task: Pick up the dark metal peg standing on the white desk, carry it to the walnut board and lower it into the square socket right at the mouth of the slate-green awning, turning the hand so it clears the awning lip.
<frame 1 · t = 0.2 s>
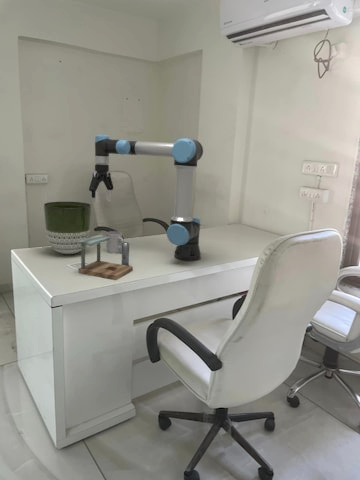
hand: (101, 202, 208), 28 cm above the table, fingers open, 13 cm apart
peg: (125, 265, 187), on the table
mug: (116, 252, 211), on the table
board: (106, 271, 176), on the table
planter: (68, 253, 204), on the table
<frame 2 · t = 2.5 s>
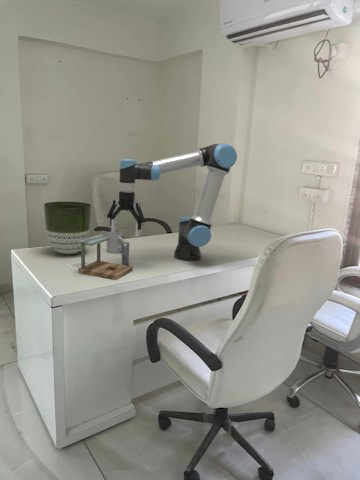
hand: (125, 234, 183), 17 cm above the table, fingers open, 13 cm apart
nothing on the table moved.
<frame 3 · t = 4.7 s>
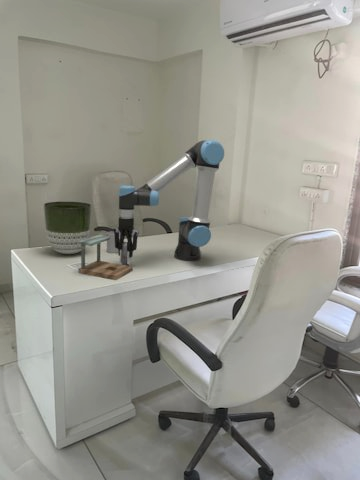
hand: (125, 262, 187), 2 cm above the table, fingers closed on peg, 3 cm apart
peg: (125, 265, 187), on the table, touching gripper
everything else where it was.
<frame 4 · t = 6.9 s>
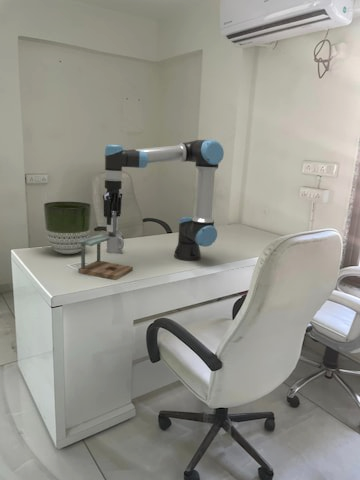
hand: (112, 230, 171), 20 cm above the table, fingers closed on peg, 3 cm apart
peg: (112, 236, 171), point 18 cm above the table, touching gripper
everything else where it was.
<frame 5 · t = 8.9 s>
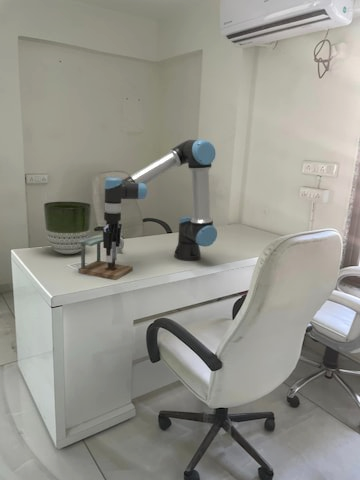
hand: (111, 260, 174), 6 cm above the table, fingers closed on peg, 3 cm apart
peg: (111, 266, 175), point 3 cm above the table, touching gripper
everything else where it was.
when the fingers open (3 cm above the table, at t = 9.7 s): peg stays where it is, resting in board.
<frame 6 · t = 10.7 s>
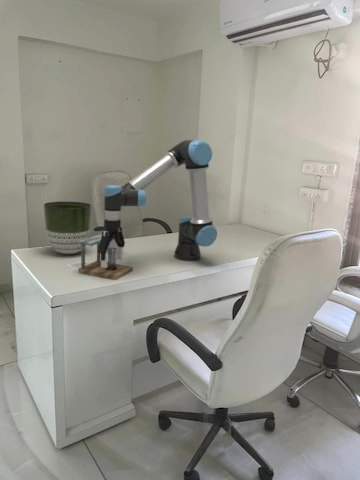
hand: (111, 263, 174), 5 cm above the table, fingers open, 13 cm apart
peg: (111, 272, 175), resting in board
everything else where it was.
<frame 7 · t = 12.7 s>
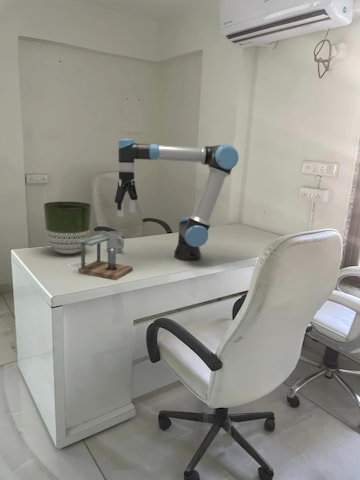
hand: (126, 214, 184), 26 cm above the table, fingers open, 13 cm apart
nothing on the table moved.
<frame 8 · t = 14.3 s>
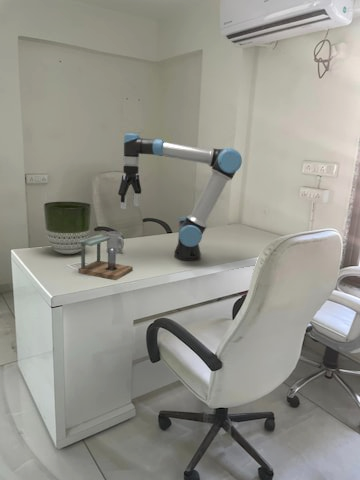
hand: (129, 207, 190), 29 cm above the table, fingers open, 13 cm apart
nothing on the table moved.
at the end: peg 0.0 cm from the target spot on the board, point 0.0 cm above the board's base; peg tilted 0°; the gripper is holding nothing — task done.
